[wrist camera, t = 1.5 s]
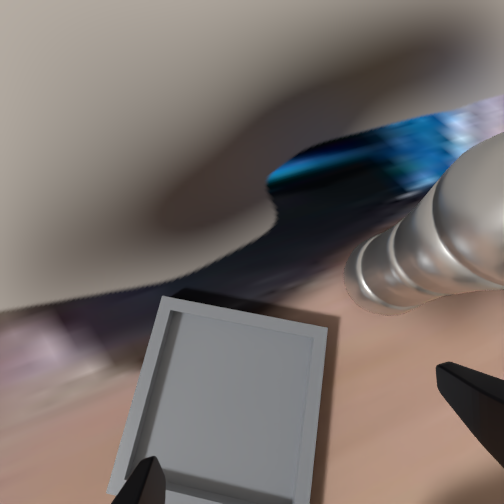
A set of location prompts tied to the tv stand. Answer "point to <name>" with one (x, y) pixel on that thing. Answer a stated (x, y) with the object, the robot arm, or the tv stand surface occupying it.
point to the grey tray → (226, 406)
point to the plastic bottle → (438, 240)
